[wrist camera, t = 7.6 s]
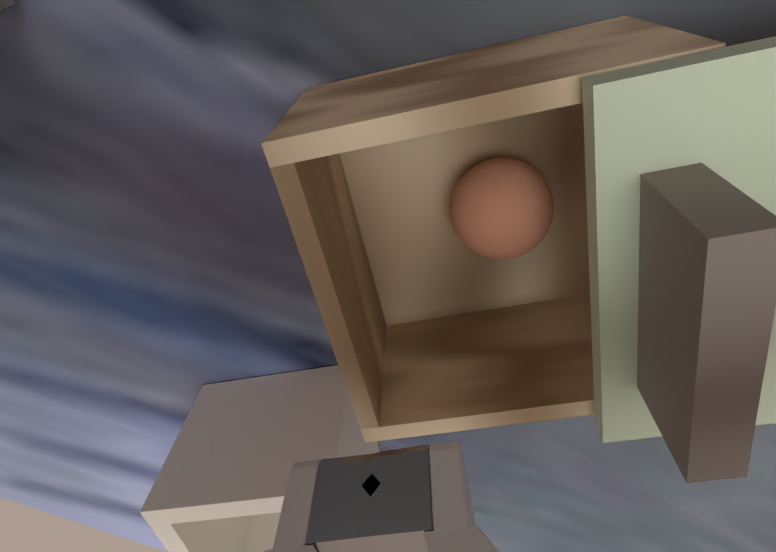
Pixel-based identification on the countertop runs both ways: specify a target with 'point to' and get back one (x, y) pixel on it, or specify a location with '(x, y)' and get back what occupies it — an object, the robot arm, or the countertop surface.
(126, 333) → the countertop surface
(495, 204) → the ball
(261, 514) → the white open box
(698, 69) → the lid
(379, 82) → the birch box
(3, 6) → the skincare box
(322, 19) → the countertop surface
